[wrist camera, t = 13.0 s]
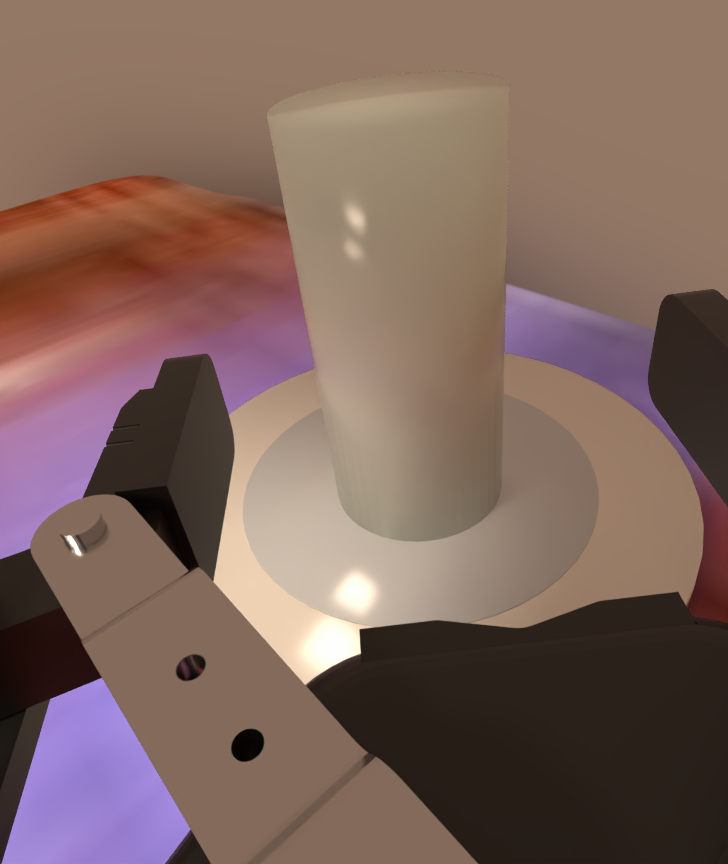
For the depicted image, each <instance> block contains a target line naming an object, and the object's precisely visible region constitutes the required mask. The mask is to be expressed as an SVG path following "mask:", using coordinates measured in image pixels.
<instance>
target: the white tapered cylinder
mask: <svg viewBox="0 0 728 864" xmlns="http://www.w3.org/2000/svg"><path fill="white" fill-rule="evenodd" d="M509 100H510V84H509V82H508V81H507V80H505V79H504V78H501V77H498V76H495V75H490V74H485V73H476V72H459V71H442V72H441V71H439V72H418V73H405V74H395V75H387V76H380V77H372V78H366V79H360V80H354V81H349V82H343V83H338V84H334V85H330V86H326V87H321V88H317V89H314V90H310V91H307V92H304V93H301V94H298V95H295V96H293V97H290V98H287V99H285V100H283V101H281V102H279V103H277V104H276V105H274V106H273V107H272V108H270V109H269V111H268V113H267V118H268V123H269V128H270V134H271V139H272V144H273V150H274V155H275V160H276V165H277V171H278V176H279V181H280V187H281V192H282V197H283V203H284V208H285V214H286V219H287V224H288V230H289V235H290V240H291V246H292V251H293V256H294V262H295V267H296V272H297V278H298V283H299V288H300V294H301V299H302V304H303V310H304V315H305V320H306V326H307V331H308V336H309V342H310V347H311V352H312V358H313V363H314V368H315V374H316V379H317V384H318V390H319V395H320V400H321V406H322V411H323V416H324V422H325V427H326V432H327V438H328V443H329V448H330V454H331V459H332V464H333V470H334V475H335V480H336V486H337V491H338V496H339V500H340V503H341V506H342V507H343V509H344V511H345V512H346V514H347V515H348V516H349V517H350V518H351V519H352V520H353V521H354V522H355V523H356V524H357V525H359V526H360V527H362V528H363V529H365V530H367V531H369V532H371V533H373V534H376V535H378V536H381V537H384V538H389V539H393V540H399V541H412V542H420V541H432V540H438V539H443V538H446V537H450V536H453V535H456V534H458V533H461V532H463V531H465V530H467V529H469V528H471V527H473V526H474V525H476V524H477V523H479V522H480V521H481V520H482V519H484V518H485V517H486V516H487V515H488V514H489V513H490V511H491V510H492V509H493V508H494V506H495V504H496V503H497V501H498V499H499V496H500V493H501V488H502V451H503V402H504V352H505V302H506V251H507V203H508V202H507V201H508V153H509V104H510V103H509V102H510V101H509Z"/></svg>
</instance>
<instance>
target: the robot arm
mask: <svg viewBox="0 0 728 864" xmlns="http://www.w3.org/2000/svg"><path fill="white" fill-rule="evenodd" d="M648 385H649V391H650V395H651V398H652V401H653V403H654V405H655V407H656V408H657V410H658V411H659V412H660V414H661V415H662V416H663V418H664V419H665V421H666V422H667V423H668V425H669V426H670V428H671V429H672V430H673V432H674V433H675V434H676V436H677V437H678V439H679V440H680V441H681V443H682V444H683V446H684V447H685V448H686V450H687V451H688V452H689V454H690V455H691V457H692V458H693V459H694V461H695V462H696V464H697V465H698V466H699V468H700V469H701V470H702V472H703V473H704V475H705V476H706V477H707V479H708V480H709V482H710V483H711V484H712V486H713V487H714V488H715V490H716V491H717V493H718V494H719V495H720V497H721V498H722V500H723V501H724V502H725V504H726V505H727V506H728V300H727V299H726V298H725V297H724V296H722V295H721V294H720V293H719V292H718V291H716V290H714V289H710V290H701V291H694V292H686V293H678V294H671V295H667V296H666V297H665V298H664V299H663V301H662V303H661V306H660V309H659V315H658V320H657V326H656V332H655V337H654V343H653V349H652V355H651V360H650V366H649V373H648ZM106 445H107V447H104V449H103V452H102V454H101V456H100V459H99V461H98V463H97V466H96V468H95V470H94V473H93V475H92V477H91V480H90V482H89V484H88V487H87V489H86V491H85V494H84V496H83V498H82V499H79V500H76V501H74V502H72V503H69V504H67V505H65V506H64V507H62V508H60V509H59V510H57V511H56V512H54V513H53V514H52V515H50V516H49V517H48V518H47V519H46V520H45V521H44V522H43V523H42V524H41V525H40V526H39V528H38V529H37V531H36V532H35V534H34V536H33V538H32V541H31V546H30V547H31V548H30V549H28V550H25V551H23V552H20V553H17V554H14V555H12V556H9V557H6V558H3V559H0V864H1V863H2V860H3V857H4V853H5V850H6V846H7V843H8V840H9V836H10V833H11V830H12V826H13V823H14V819H15V816H16V813H17V809H18V806H19V803H20V799H21V796H22V792H23V789H24V786H25V782H26V779H27V775H28V772H29V769H30V765H31V762H32V759H33V755H34V752H35V748H36V745H37V742H38V738H39V735H40V732H41V728H42V725H43V721H44V718H45V715H46V711H47V708H48V704H49V701H50V699H51V698H54V697H56V696H58V695H61V694H63V693H66V692H68V691H71V690H73V689H76V688H78V687H80V686H83V685H85V684H88V683H90V682H93V681H95V680H97V679H100V678H103V680H104V682H105V684H106V685H107V687H108V689H109V690H110V692H111V694H112V696H113V697H114V699H115V701H116V702H117V704H118V706H119V707H120V709H121V711H122V713H123V714H124V716H125V718H126V719H127V721H128V723H129V725H130V726H131V728H132V730H133V731H134V733H135V735H136V737H137V738H138V740H139V742H140V743H141V745H142V747H143V748H144V750H145V752H146V754H147V755H148V757H149V759H150V760H151V762H152V764H153V766H154V767H155V769H156V771H157V772H158V774H159V776H160V777H161V779H162V781H163V783H164V784H165V786H166V788H167V789H168V791H169V793H170V795H171V796H172V798H173V800H174V801H175V803H176V805H177V807H178V808H179V810H180V812H181V813H182V815H183V817H184V818H185V820H186V822H187V824H188V825H189V827H190V829H191V830H190V831H189V833H188V834H187V835H186V837H185V838H184V839H183V841H182V842H181V843H180V845H179V846H178V847H177V849H176V850H175V851H174V853H173V854H172V855H171V857H170V858H169V859H168V861H167V862H166V863H165V864H728V624H727V623H723V622H719V621H714V620H709V619H704V618H699V617H692V616H691V614H690V612H689V610H688V609H687V607H686V605H685V603H684V601H683V599H682V598H681V596H680V594H679V592H671V593H663V594H654V595H646V596H637V597H629V598H620V599H612V600H603V601H598V602H595V603H592V604H589V605H587V606H584V607H581V608H579V609H576V610H573V611H570V612H568V613H565V614H562V615H559V616H557V617H554V618H551V619H549V620H546V621H543V622H540V623H538V624H535V625H532V626H529V627H525V628H510V627H500V626H491V625H481V624H471V623H461V622H452V621H442V620H432V621H424V622H415V623H407V624H398V625H390V626H381V627H373V628H364V629H359V632H360V650H361V654H358V655H355V656H353V657H350V658H347V659H345V660H343V661H341V662H339V663H337V664H335V665H333V666H331V667H330V668H328V669H327V670H325V671H324V672H322V673H320V674H319V675H317V676H316V677H314V678H313V679H312V680H311V681H310V682H308V683H307V684H306V685H305V684H304V683H303V682H302V681H301V680H300V679H299V677H298V676H297V675H296V674H295V673H294V672H293V671H292V670H291V668H290V667H289V666H288V665H287V664H286V663H285V662H284V661H283V659H282V658H281V657H280V656H279V655H278V654H277V653H276V652H275V650H274V649H273V648H272V647H271V646H270V645H269V644H268V643H267V641H266V640H265V639H264V638H263V637H262V636H261V635H260V634H259V632H258V631H257V630H256V629H255V628H254V627H253V626H252V625H251V624H250V622H249V621H248V620H247V619H246V618H245V617H244V616H243V615H242V613H241V612H240V611H239V610H238V609H237V608H236V607H235V606H234V604H233V603H232V602H231V601H230V600H229V599H228V598H227V597H226V595H225V594H224V593H223V592H222V591H221V590H220V589H219V588H218V586H217V585H216V584H215V583H214V582H213V581H214V575H215V569H216V563H217V557H218V551H219V546H220V540H221V534H222V528H223V522H224V516H225V510H226V504H227V498H228V492H229V486H230V480H231V474H232V468H233V462H234V455H235V445H234V435H233V429H232V425H231V421H230V418H229V415H228V411H227V408H226V405H225V401H224V398H223V395H222V391H221V388H220V385H219V381H218V378H217V375H216V371H215V368H214V365H213V362H212V360H211V358H210V356H209V355H208V354H201V355H193V356H185V357H177V358H170V359H165V360H164V362H163V364H162V367H161V369H160V372H159V375H158V377H157V380H156V383H155V385H154V388H151V389H144V390H139V391H138V392H137V393H136V394H135V395H134V396H133V397H132V398H131V399H130V400H129V401H128V402H127V403H126V404H125V405H124V406H123V407H122V408H121V410H120V412H119V414H118V417H117V419H116V421H115V424H114V426H113V431H111V433H110V435H109V438H108V440H107V442H106Z"/></svg>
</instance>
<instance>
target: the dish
mask: <svg viewBox="0 0 728 864" xmlns="http://www.w3.org/2000/svg"><path fill="white" fill-rule="evenodd" d="M229 418H230V421H231V425H232V429H233V435H234V445H235V455H234V462H233V468H232V474H231V480H230V486H229V492H228V498H227V504H226V510H225V516H224V522H223V528H222V534H221V540H220V546H219V551H218V557H217V563H216V569H215V575H214V581H213V582H214V583H215V584H216V585H217V586H218V588H219V589H220V590H221V591H222V592H223V593H224V594H225V595H226V597H227V598H228V599H229V600H230V601H231V602H232V603H233V604H234V606H235V607H236V608H237V609H238V610H239V611H240V612H241V613H242V615H243V616H244V617H245V618H246V619H247V620H248V621H249V622H250V624H251V625H252V626H253V627H254V628H255V629H256V630H257V631H258V632H259V634H260V635H261V636H262V637H263V638H264V639H265V640H266V641H267V643H268V644H269V645H270V646H271V647H272V648H273V649H274V650H275V652H276V653H277V654H278V655H279V656H280V657H281V658H282V659H283V661H284V662H285V663H286V664H287V665H288V666H289V667H290V668H291V670H292V671H293V672H294V673H295V674H296V675H297V676H298V677H299V679H300V680H301V681H302V682H303V683H304V684H305V685H306V684H307V683H308V682H310V681H311V680H312V679H313V678H314V677H316V676H317V675H319V674H320V673H322V672H324V671H325V670H327V669H328V668H330V667H331V666H333V665H335V664H337V663H339V662H341V661H343V660H345V659H347V658H350V657H353V656H355V655H358V654H361V650H360V632H359V629H364V628H373V627H381V626H390V625H398V624H407V623H415V622H424V621H432V620H442V621H452V622H461V623H471V624H481V625H491V626H500V627H510V628H525V627H529V626H532V625H535V624H538V623H540V622H543V621H546V620H549V619H551V618H554V617H557V616H559V615H562V614H565V613H568V612H570V611H573V610H576V609H579V608H581V607H584V606H587V605H589V604H592V603H595V602H598V601H603V600H612V599H620V598H629V597H637V596H646V595H654V594H663V593H671V592H679V594H680V596H681V598H682V599H683V601H684V603H685V605H686V607H687V606H688V604H689V602H690V599H691V596H692V593H693V589H694V586H695V583H696V579H697V575H698V571H699V567H700V563H701V558H702V554H703V531H704V524H703V518H702V512H701V506H700V500H699V496H698V494H697V491H696V488H695V486H694V483H693V480H692V477H691V475H690V473H689V471H688V469H687V467H686V466H685V464H684V462H683V460H682V459H681V457H680V455H679V454H678V452H677V450H676V449H675V448H674V447H673V445H672V444H671V443H670V442H669V440H668V439H667V438H666V437H665V435H664V434H663V433H662V432H661V430H660V429H659V428H657V427H656V426H655V425H654V424H653V423H652V422H651V421H650V420H649V419H648V418H647V417H646V416H645V415H644V414H643V413H642V412H640V411H639V410H638V409H636V408H635V407H634V406H632V405H631V404H629V403H628V402H627V401H625V400H624V399H623V398H621V397H620V396H618V395H617V394H615V393H613V392H611V391H610V390H608V389H606V388H605V387H603V386H601V385H599V384H598V383H596V382H593V381H591V380H589V379H587V378H585V377H583V376H580V375H578V374H576V373H574V372H571V371H569V370H566V369H563V368H560V367H557V366H555V365H552V364H549V363H545V362H542V361H538V360H534V359H531V358H527V357H523V356H518V355H513V354H507V353H504V402H503V451H502V488H501V493H500V496H499V499H498V501H497V503H496V504H495V506H494V508H493V509H492V510H491V511H490V513H489V514H488V515H487V516H486V517H485V518H484V519H482V520H481V521H480V522H479V523H477V524H476V525H474V526H473V527H471V528H469V529H467V530H465V531H463V532H461V533H458V534H456V535H453V536H450V537H446V538H443V539H438V540H432V541H420V542H412V541H399V540H393V539H389V538H384V537H381V536H378V535H376V534H373V533H371V532H369V531H367V530H365V529H363V528H362V527H360V526H359V525H357V524H356V523H355V522H354V521H353V520H352V519H351V518H350V517H349V516H348V515H347V514H346V512H345V511H344V509H343V507H342V506H341V503H340V500H339V496H338V491H337V486H336V480H335V475H334V470H333V464H332V459H331V454H330V448H329V443H328V438H327V432H326V427H325V422H324V416H323V411H322V406H321V400H320V395H319V390H318V384H317V379H316V374H315V369H313V370H310V371H307V372H305V373H302V374H300V375H297V376H294V377H292V378H290V379H288V380H286V381H284V382H282V383H280V384H278V385H276V386H273V387H271V388H270V389H268V390H266V391H264V392H263V393H261V394H259V395H258V396H256V397H254V398H252V399H251V400H249V401H248V402H246V403H245V404H243V405H242V406H241V407H239V408H238V409H236V410H235V411H233V412H232V413H231V414H229Z"/></svg>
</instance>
